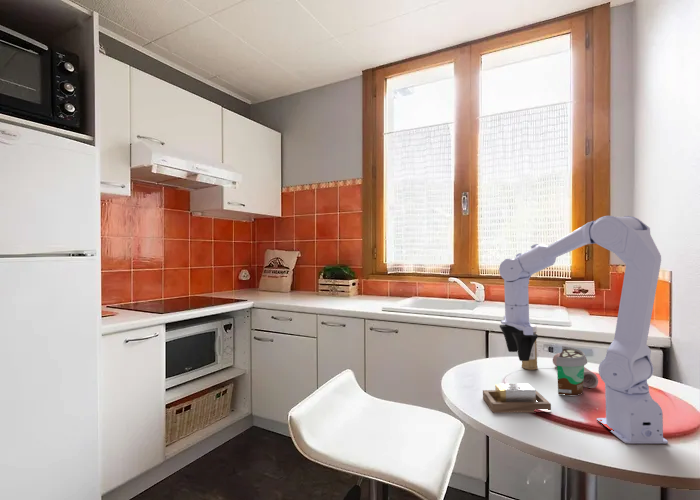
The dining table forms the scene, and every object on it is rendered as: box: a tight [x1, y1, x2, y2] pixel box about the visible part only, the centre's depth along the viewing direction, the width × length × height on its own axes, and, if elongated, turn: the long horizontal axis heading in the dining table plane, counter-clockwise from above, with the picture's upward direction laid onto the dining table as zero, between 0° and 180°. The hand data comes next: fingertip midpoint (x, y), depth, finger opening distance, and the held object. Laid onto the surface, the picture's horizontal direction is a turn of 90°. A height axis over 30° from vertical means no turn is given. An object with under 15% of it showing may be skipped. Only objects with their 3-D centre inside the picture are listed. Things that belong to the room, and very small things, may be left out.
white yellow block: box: [494, 383, 537, 402], centre depth 88 cm, size 4×8×4 cm, turn 86°
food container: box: [556, 345, 588, 396], centre depth 95 cm, size 12×6×10 cm, turn 144°
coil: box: [552, 352, 599, 389], centre depth 105 cm, size 5×5×18 cm
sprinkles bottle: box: [521, 323, 538, 371], centre depth 113 cm, size 5×5×14 cm
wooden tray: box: [482, 389, 552, 414], centre depth 88 cm, size 8×13×2 cm, turn 86°
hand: (518, 355), depth 96 cm, fingers open, 7 cm apart
